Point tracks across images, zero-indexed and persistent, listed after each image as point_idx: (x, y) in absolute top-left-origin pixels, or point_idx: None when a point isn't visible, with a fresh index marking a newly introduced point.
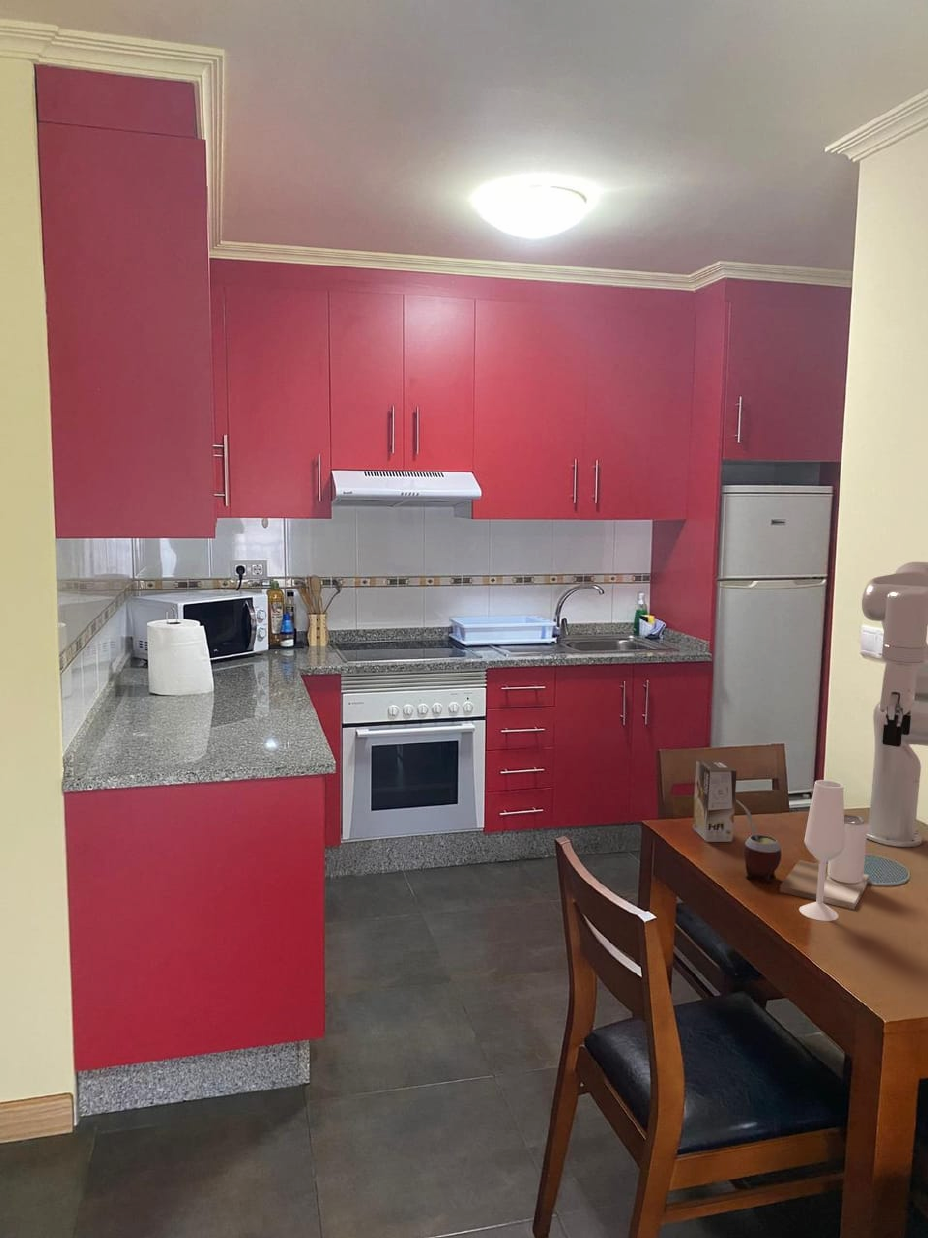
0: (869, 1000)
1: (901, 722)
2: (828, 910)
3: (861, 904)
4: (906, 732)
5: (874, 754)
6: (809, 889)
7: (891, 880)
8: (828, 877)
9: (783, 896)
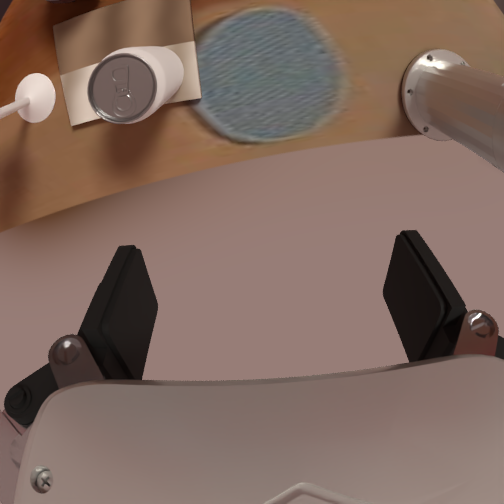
0: None
1: (410, 312)
2: (29, 113)
3: (101, 122)
4: (386, 295)
5: None
6: (69, 59)
7: (235, 123)
8: None
9: (47, 38)
